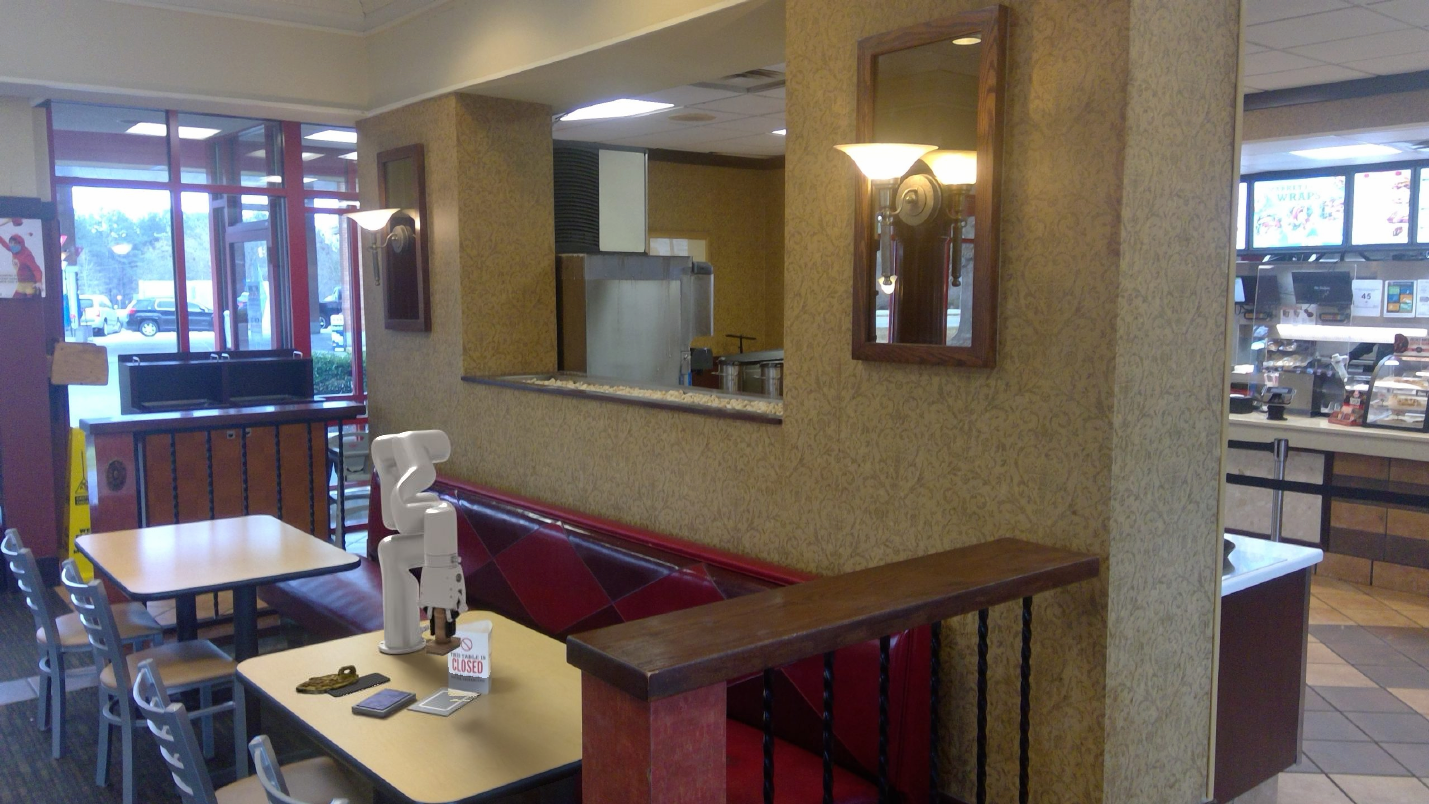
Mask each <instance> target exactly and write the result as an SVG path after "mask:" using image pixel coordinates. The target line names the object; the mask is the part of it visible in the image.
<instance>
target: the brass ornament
mask: <svg viewBox="0 0 1429 804" xmlns="http://www.w3.org/2000/svg"><path fill="white" fill-rule="evenodd" d="M345 671H347V672H345ZM359 677H360V676H359V674H358V673H357V668H356V666H355V665H353V664H352V665H351V664H349V665H346V666H341V667H340V668H339V669H338V671H337V673H331V674H325V675H322V676H313V677H310V678H308V680H305V681H304V682H301V683H299V684H298V685H297V686H296V687H295V691H296V692H301V693H304V694H308V695H309V694H310V695H311V694H314V695H317V694H325V693H326V691H330V690H335V689H339V688H343V687H346V686H348V685H350V684H352V683H354V682H355V681H357V680H358V679H359ZM326 694H327V693H326Z"/></svg>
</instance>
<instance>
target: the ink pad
mask: <svg viewBox="0 0 1429 804" xmlns="http://www.w3.org/2000/svg"><path fill="white" fill-rule="evenodd" d="M415 700H417V692H410V691H404V690H399V689H398V690H397V689H394V688H393V689H391V688H387V687H385V688H383V689H381V690H380V691H378V692H376V693H374V694H372V695H370V696H368V697H367V698H365V699H363V700H361V701H359V702H357V703H355V704H353V705H352V706H351V713H353V714H354V713H355V714H358V715H359V714H360V715H365V716H369V717H375V718H380V719H384V718H386V717H387V716H389V715H391V714H393V713H394V712H396V711H398V710H400V709H402V708H404V707H405V706H406V705H408V704H410V703H411V702H414V701H415Z"/></svg>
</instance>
